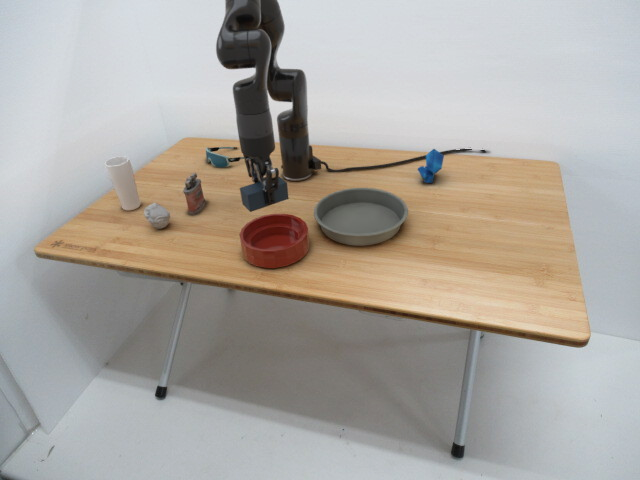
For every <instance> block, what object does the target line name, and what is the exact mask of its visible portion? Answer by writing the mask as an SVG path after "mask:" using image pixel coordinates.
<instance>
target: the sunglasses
mask: <svg viewBox="0 0 640 480" xmlns="http://www.w3.org/2000/svg"><path fill="white" fill-rule="evenodd" d="M223 149H224V150H237V149H238V147H237V146H217V147H205V158H206V162H207V163H210V164H211V165H212V166H214V167H215V168H228V167H229V166H230V164H231V163H237V162H240V160H245V159H244V156H238V157H229V156H227V155H223V154H219V153H216V152H218V151H219V150H223Z"/></svg>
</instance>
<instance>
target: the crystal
mask: <svg viewBox="0 0 640 480" xmlns="http://www.w3.org/2000/svg"><path fill="white" fill-rule="evenodd" d="M439 152H440V151H438V150H437V149H436V148H432V150H430V151H429V152H428V153H427V154H425V155H426V158H425V165H421V166H419V167H418V168H417V171H418V173H419V174H420V176H421V178H422V179H423V182H424V183H425V184H433V182H434V178H435V177H434V176H435V175H436V174H437V173H438V172H439V171H440V170H442V168H443V163H444V159H445V158H444V157H445V156H444V155H445V154H441V153H439Z"/></svg>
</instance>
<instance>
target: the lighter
mask: <svg viewBox="0 0 640 480" xmlns="http://www.w3.org/2000/svg"><path fill="white" fill-rule="evenodd" d="M184 185H185V186H184V188H183V190H182V192H183V194H184V197H185V201H186V204H187V209H188V215H191V216H195V215H198V214H199V213H200V212H201V211H202V210H203V209H204V207H205V205H206V199H205V196H204V192H203V187H202V180H201V178H198V174H197V173H196V172H193V173H191V175H190V176H189V177H188V176H187V177H186V178H185V181H184Z"/></svg>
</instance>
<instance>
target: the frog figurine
mask: <svg viewBox="0 0 640 480" xmlns="http://www.w3.org/2000/svg"><path fill="white" fill-rule="evenodd" d="M143 215H144V218H145V219H146V220H147V222H148V223H150V225H151V226H152V227H154V229H160V230H161V229H164V228H166V227H167V226H168V225H169V224H170V219H171V213H170V212H169V210H168V209H167V208H166V207H164V206H162V205H161V204H159V203H157V202H152V203H151V204H149V205H147V206H146V207H145V208H144V210H143Z"/></svg>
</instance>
